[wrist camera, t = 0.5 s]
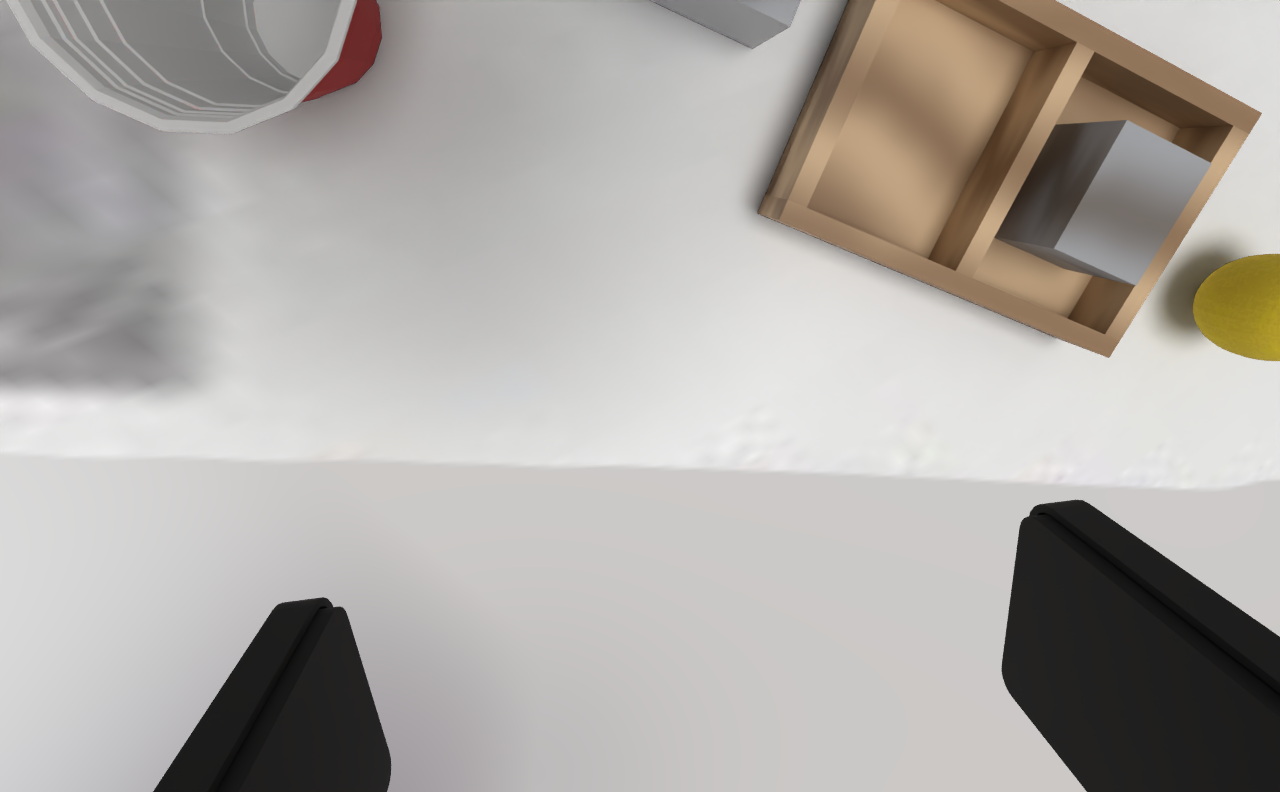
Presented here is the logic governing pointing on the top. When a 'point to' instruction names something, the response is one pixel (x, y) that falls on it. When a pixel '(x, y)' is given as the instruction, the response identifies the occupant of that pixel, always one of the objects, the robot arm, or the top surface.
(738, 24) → the mount
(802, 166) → the caddy
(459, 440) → the top surface
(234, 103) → the plastic cup
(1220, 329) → the lemon
